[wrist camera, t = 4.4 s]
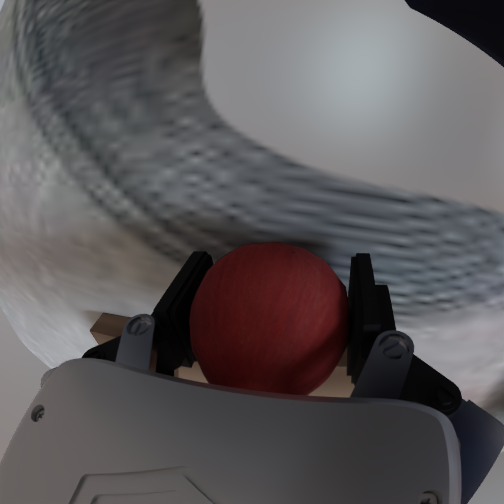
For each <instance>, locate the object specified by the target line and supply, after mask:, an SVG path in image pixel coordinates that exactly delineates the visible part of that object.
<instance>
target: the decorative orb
mask: <svg viewBox="0 0 504 504" xmlns="http://www.w3.org/2000/svg"><path fill="white" fill-rule="evenodd" d="M405 1H406V3H407V4H408V5H409V7H410V8H412V9H414V10H416V11H418V12H420V13H422V14H424V15H426V16H427V17H429V18H431V19H433V20H435V21H437V22H438V23H440V24H442V25H444V26H445V27H447V28H449V29H450V30H452V31H454V32H455V33H457V34H459V35H460V36H462V37H463V38H465V39H466V40H468V41H469V42H471V43H472V44H474V45H475V46H477V47H478V48H480V49H481V50H482V51H484V52H485V53H486V54H488V55H489V56H490V57H492V58H493V59H494V60H495V61H497V62H498V63H499V64H501V65H502V66H503V67H504V0H405Z"/></svg>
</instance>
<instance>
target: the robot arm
mask: <svg viewBox="0 0 504 504" xmlns="http://www.w3.org/2000/svg"><path fill="white" fill-rule="evenodd" d="M212 266H213V261H212V257H211V255H208V253H207V252H206V251H194V252H193V253H192V254H191V256H190V257H189V259H188V260H187V261H186V263H185V264H184V266H183V267H182V269H181V270H180V272H179V273H178V274H177V276H176V277H175V279H174V280H173V282H172V283H171V285H170V286H169V288H168V289H167V290H166V292H165V293H164V295H163V296H162V298H161V299H160V301H159V302H158V304H157V305H156V307H155V308H154V311H153V313H152V314H151V315H148V314H140V315H136V316H134V317H132V318H131V319H129V320H128V321H127V322H126V324H125V325H124V328H123V332H122V335H121V336H118V337H116V338H114V339H111V340H109V341H107V342H105V343H102V344H100V345H98V346H95V347H93V348H91V349H89V350H88V351H87V352H85V353H84V355H83V356H82V358H78V359H72V360H68V361H66V362H64V363H62V364H61V365H60V366H58V367H56V368H53V369H51V370H49V371H47V372H46V373H45V374H44V375H43V377H42V379H41V389H40V391H39V392H38V394H37V395H36V397H35V398H34V400H33V402H32V403H31V405H30V406H29V408H28V410H27V411H26V413H25V415H24V417H23V418H22V420H21V422H20V424H19V426H18V427H17V429H16V431H15V433H14V435H13V437H12V439H11V441H10V443H9V446H8V448H7V450H6V452H5V454H4V456H3V458H2V461H1V463H0V504H467V503H468V502H469V500H470V499H471V498H472V496H473V495H474V493H475V492H476V491H477V489H478V487H479V486H480V484H481V483H482V482H483V480H484V479H485V477H486V475H487V474H488V472H489V471H490V469H491V467H492V466H493V464H494V462H495V461H496V459H497V457H498V455H499V454H500V452H501V450H502V448H503V446H504V425H503V424H502V422H500V421H499V420H497V419H496V418H495V417H493V416H492V415H490V414H489V413H487V412H486V411H485V410H483V409H482V408H480V407H479V406H477V405H476V404H475V403H473V402H472V401H470V400H468V401H467V402H466V401H465V400H464V399H462V396H461V392H460V390H459V388H458V387H457V386H456V385H455V384H454V383H453V382H452V381H450V380H449V379H447V378H446V377H445V376H443V375H442V374H440V373H439V372H438V371H436V370H435V369H433V368H432V367H431V366H429V365H428V364H426V363H425V362H424V361H422V360H421V359H419V358H418V357H417V356H415V355H414V354H413V353H414V344H413V341H412V340H411V338H410V337H409V336H408V335H406V334H405V333H403V332H400V331H396V326H395V321H394V315H393V310H392V304H391V299H390V294H389V290H388V286H387V285H375V280H374V274H373V269H372V264H371V258H370V254H369V253H357V254H356V257H351V268H350V280H349V291H348V302H349V309H350V315H351V335H350V341H349V343H348V345H347V376H351V384H354V385H355V387H354V389H353V391H352V393H351V395H350V397H349V398H348V397H325V396H307V395H293V394H282V393H272V392H263V391H255V390H247V389H240V388H233V387H226V386H220V385H214V384H209V383H203V382H198V381H193V380H188V379H183V378H179V369H178V368H180V367H181V366H183V367H188V368H192V366H193V363H194V362H197V360H196V358H195V356H194V354H193V352H192V346H191V340H190V325H189V318H190V310H191V305H192V302H193V300H194V297H195V295H196V292H197V290H198V288H199V286H200V284H201V282H202V280H203V278H204V276H205V275H206V273H207V271H208V270H209V269H210V268H211V267H212Z"/></svg>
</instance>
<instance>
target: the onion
mask: <svg viewBox="0 0 504 504" xmlns="http://www.w3.org/2000/svg"><path fill="white" fill-rule="evenodd" d="M189 325H190V340H191V346H192V352H193V354H194V356H195V358H196V360H197V362H198V364H199V366H200V369H201V371H202V373H203V375H204V377H205V378H206V380H207V382H208V383H209V384H214V385H220V386H226V387H233V388H240V389H247V390H255V391H263V392H272V393H282V394H293V395H309V394H310V393H312V392H313V391H314V390H316V389H317V388H319V387H320V386H321V385H322V384H323V383H324V382H325V381H326V380H327V379H328V378H329V377H330V375H331V374H332V373H333V371H334V370H335V368H336V366H337V365H338V363H339V361H340V359H341V358H342V356H343V354H344V352H345V350H346V347H347V345H348V343H349V341H350V335H351V315H350V309H349V302H348V297H347V292H346V287H345V285H344V284H343V283H342V282H341V280H340V279H339V278H338V276H337V275H336V274H335V273H334V271H333V270H332V269H331V267H330V266H329V265H328V264H327V263H326V262H325V261H324V260H323V259H321V258H320V257H318V256H316V255H314V254H313V253H311V252H309V251H308V250H306V249H304V248H302V247H298V246H294V245H289V244H285V243H281V242H269V243H257V244H247V245H241V246H240V247H238V248H237V249H235V250H233V251H232V252H230V253H228V254H227V255H225V256H224V257H222V258H220V259H219V260H218V261H217V262H216V263H215V264H214V265H213V266H212V267H211V268H210V269H209V270H208V271H207V273H206V275H205V276H204V278H203V280H202V282H201V284H200V286H199V288H198V290H197V292H196V295H195V297H194V300H193V302H192V305H191V310H190V318H189Z"/></svg>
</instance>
